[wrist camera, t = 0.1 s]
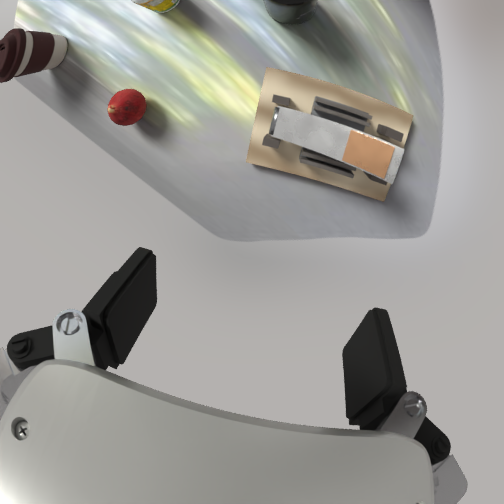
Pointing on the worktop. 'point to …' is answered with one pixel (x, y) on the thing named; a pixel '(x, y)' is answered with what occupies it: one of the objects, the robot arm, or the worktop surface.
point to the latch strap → (337, 142)
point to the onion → (127, 107)
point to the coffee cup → (29, 53)
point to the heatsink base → (304, 104)
